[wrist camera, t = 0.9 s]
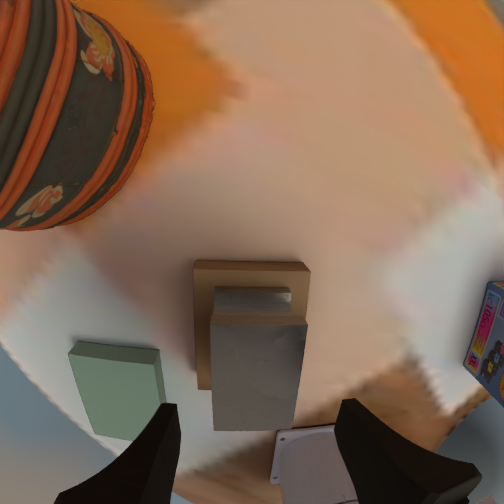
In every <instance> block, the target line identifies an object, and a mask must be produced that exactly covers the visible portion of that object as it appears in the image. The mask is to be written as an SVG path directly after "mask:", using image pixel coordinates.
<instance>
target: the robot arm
mask: <svg viewBox="0 0 504 504" xmlns="http://www.w3.org/2000/svg"><path fill="white" fill-rule="evenodd" d="M180 443H181V430H180V424H179V417H178V411H177V404H172V403H162V404H160V406H159V407H158V409H157V411H156V412H155V414H154V415H153V417H152V418H151V420H150V421H149V422H148V424H147V425H146V426H145V428H144V429H143V430H142V432H141V433H140V434H139V435H138V437H137V438H136V439H135V440H134V441H133V442H132V443H131V444H130V446H129V447H128V448H127V449H126V450H125V451H124V452H123V453H122V454H121V455H120V456H119V457H117V458H116V459H115V460H114V461H113V462H112V463H110V464H109V465H108V466H107V467H105V468H104V469H103V470H101V471H100V472H99V473H97V474H96V475H94V476H92V477H91V478H89V479H87V480H86V481H84V482H82V483H81V484H79V485H77V486H74V487H72V488H70V489H68V490H66V491H63V492H61V493H59V495H58V497H57V498H56V500H55V502H54V504H170V499H171V492H172V488H173V483H174V478H175V473H176V468H177V464H178V459H179V454H180ZM481 479H482V475H481V473H480V472H479V471H478V469H477V468H476V467H475V465H474V464H472V463H467V462H462V461H457V460H453V459H450V458H447V457H444V456H441V455H438V454H435V453H433V452H431V451H428V450H426V449H424V448H422V447H420V446H418V445H416V444H414V443H412V442H411V441H409V440H407V439H406V438H404V437H402V436H401V435H400V434H398V433H397V432H395V431H394V430H392V429H391V428H390V427H388V426H387V425H386V424H385V423H383V422H382V421H381V420H380V419H378V418H377V417H376V416H375V415H374V414H373V413H371V412H370V411H369V410H368V409H367V408H366V407H365V406H363V405H362V404H361V403H360V402H359V401H358V400H357V399H355V398H352V399H344V400H342V403H341V407H340V410H339V414H338V417H337V420H336V423H335V425H330V426H322V427H313V428H302V429H290V430H281V431H279V432H278V433H277V438H276V444H275V451H274V457H273V463H272V469H271V475H270V483H271V484H280V490H281V496H282V501H283V504H468V503H469V500H468V498H467V496H468V495H469V494H470V493H471V492H472V491H473V490H474V488H475V487H476V486H477V485H478V484H479V482H480V481H481ZM476 504H497V503H496V501H495V500H494V498H493V497H492V496H491V495H489V496H487V497H486V498H484V499H483V500H481V501H479V502H478V503H476Z"/></svg>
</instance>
